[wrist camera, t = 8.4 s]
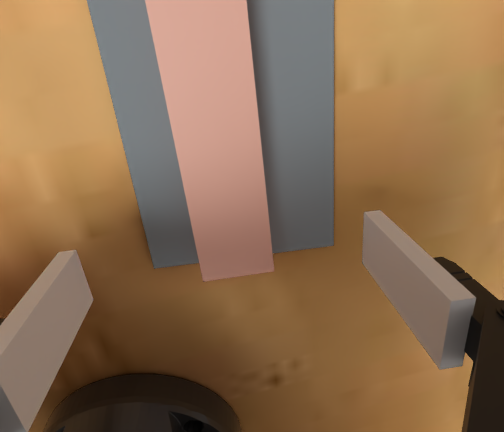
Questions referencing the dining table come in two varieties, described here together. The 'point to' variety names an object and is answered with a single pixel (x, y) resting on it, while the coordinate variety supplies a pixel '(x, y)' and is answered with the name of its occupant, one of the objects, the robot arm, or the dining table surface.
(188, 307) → the dining table surface
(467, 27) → the dining table surface
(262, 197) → the pink rectangular bar
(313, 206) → the mat
